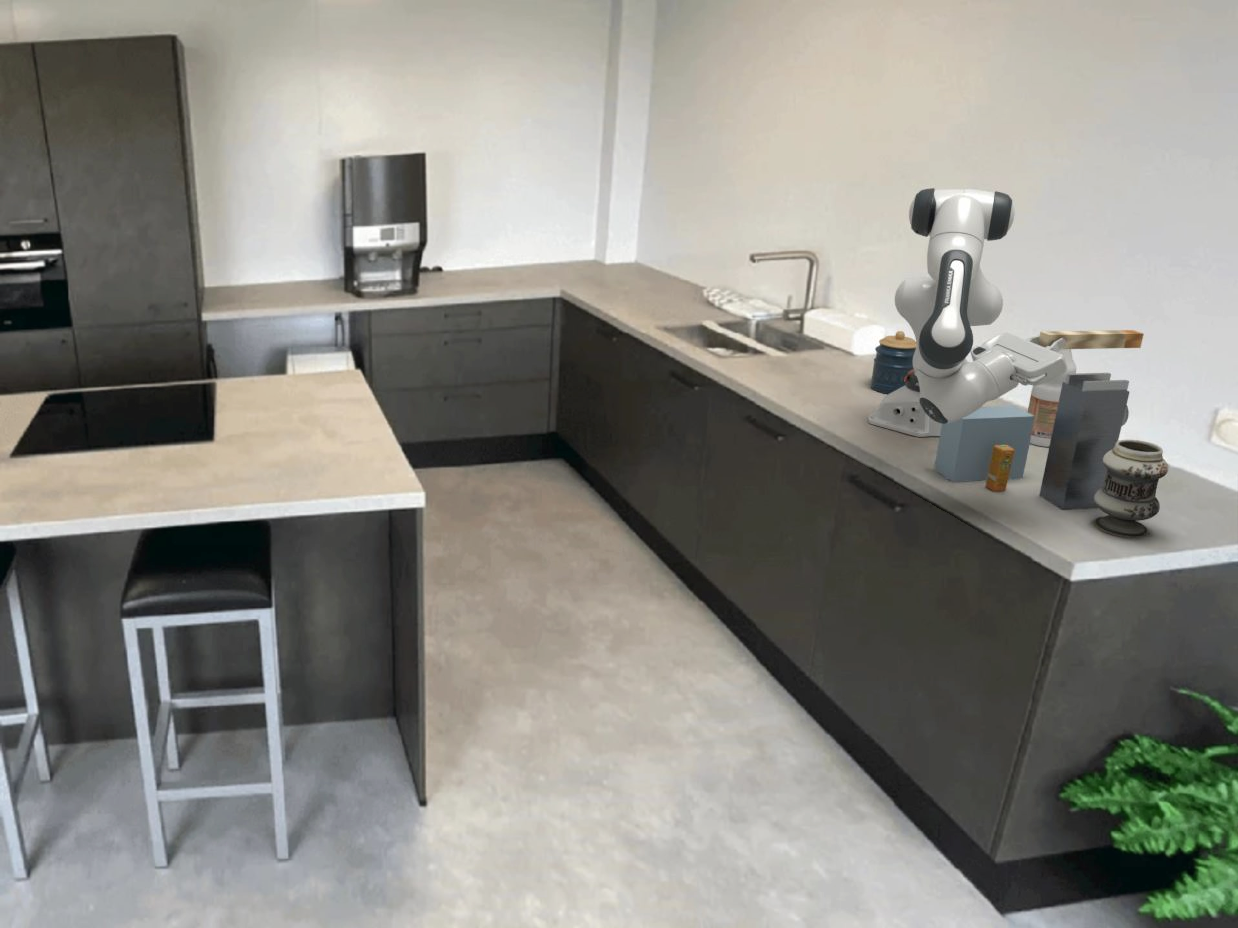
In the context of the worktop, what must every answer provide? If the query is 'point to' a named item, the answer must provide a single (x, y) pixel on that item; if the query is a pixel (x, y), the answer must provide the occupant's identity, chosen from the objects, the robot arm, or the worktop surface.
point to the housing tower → (1083, 438)
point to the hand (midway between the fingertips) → (1056, 338)
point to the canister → (892, 362)
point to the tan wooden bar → (1093, 339)
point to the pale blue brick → (983, 442)
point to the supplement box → (1000, 467)
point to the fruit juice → (1048, 403)
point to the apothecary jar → (1130, 487)
